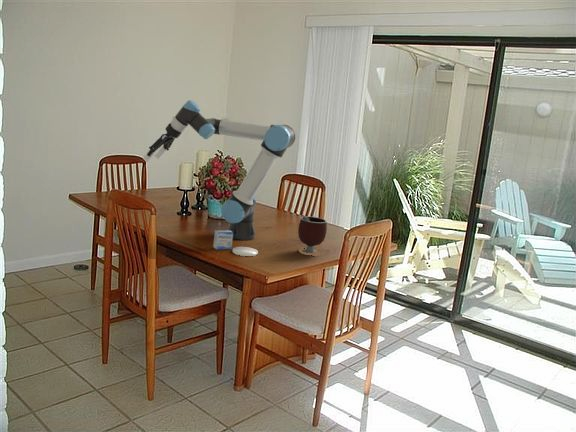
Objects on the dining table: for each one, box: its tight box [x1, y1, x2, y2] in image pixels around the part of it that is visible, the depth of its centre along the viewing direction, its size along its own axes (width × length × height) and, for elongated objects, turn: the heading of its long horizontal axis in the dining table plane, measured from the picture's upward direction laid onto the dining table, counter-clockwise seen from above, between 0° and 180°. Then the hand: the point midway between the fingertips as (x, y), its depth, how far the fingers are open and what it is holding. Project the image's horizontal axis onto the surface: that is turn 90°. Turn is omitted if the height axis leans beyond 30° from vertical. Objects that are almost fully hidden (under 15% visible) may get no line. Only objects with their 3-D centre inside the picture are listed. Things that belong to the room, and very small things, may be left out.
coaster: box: [232, 246, 259, 257], centre depth 264 cm, size 12×12×1 cm
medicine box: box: [212, 229, 234, 251], centre depth 266 cm, size 8×4×9 cm, turn 117°
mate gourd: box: [297, 214, 328, 253], centre depth 276 cm, size 16×14×20 cm
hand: (150, 159), depth 282 cm, fingers open, 13 cm apart
